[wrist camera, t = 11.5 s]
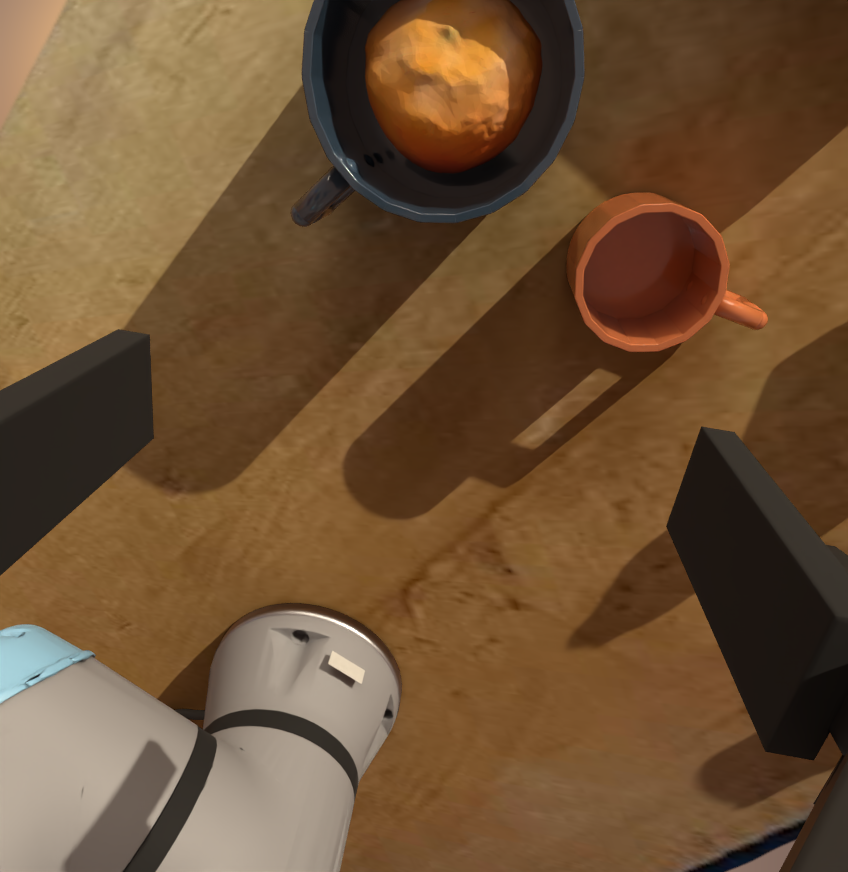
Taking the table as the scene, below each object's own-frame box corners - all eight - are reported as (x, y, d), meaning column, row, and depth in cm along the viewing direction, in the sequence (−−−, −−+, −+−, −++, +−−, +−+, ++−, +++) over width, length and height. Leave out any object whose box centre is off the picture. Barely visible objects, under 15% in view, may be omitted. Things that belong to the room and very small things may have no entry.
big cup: (469, -119, 31) (459, -185, 24) (615, 99, 34) (641, 94, 27) (250, 119, 36) (192, 119, 29) (393, 288, 39) (369, 322, 33)
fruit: (367, 199, 35) (342, 112, 27) (388, 60, 36) (370, -63, 28) (517, 216, 35) (536, 133, 27) (536, 76, 36) (559, -45, 28)
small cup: (545, 296, 39) (551, 322, 34) (601, 171, 35) (616, 180, 30) (705, 358, 39) (734, 392, 34) (774, 240, 36) (817, 259, 31)
